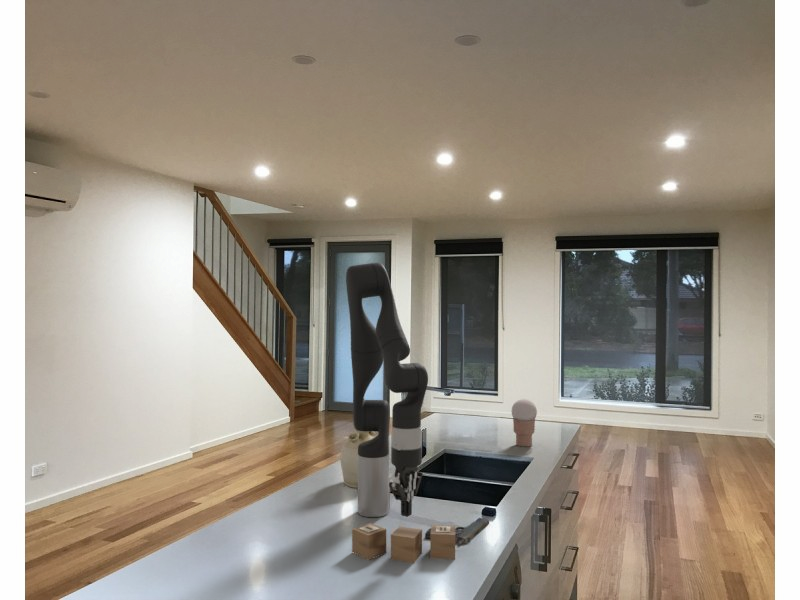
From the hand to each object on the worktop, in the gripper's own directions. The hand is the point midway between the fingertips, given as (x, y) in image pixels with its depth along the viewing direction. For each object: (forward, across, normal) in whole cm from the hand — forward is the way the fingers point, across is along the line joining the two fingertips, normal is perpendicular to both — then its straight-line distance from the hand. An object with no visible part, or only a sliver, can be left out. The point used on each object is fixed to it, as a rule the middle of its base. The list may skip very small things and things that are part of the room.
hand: (406, 515), depth 150 cm
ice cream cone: (+10, -128, -14) cm, 129 cm away
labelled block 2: (+10, -6, +7) cm, 14 cm away
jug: (+10, -44, -43) cm, 63 cm away
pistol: (+11, -22, +4) cm, 25 cm away
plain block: (+10, 0, 0) cm, 10 cm away
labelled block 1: (+10, +3, -9) cm, 14 cm away
